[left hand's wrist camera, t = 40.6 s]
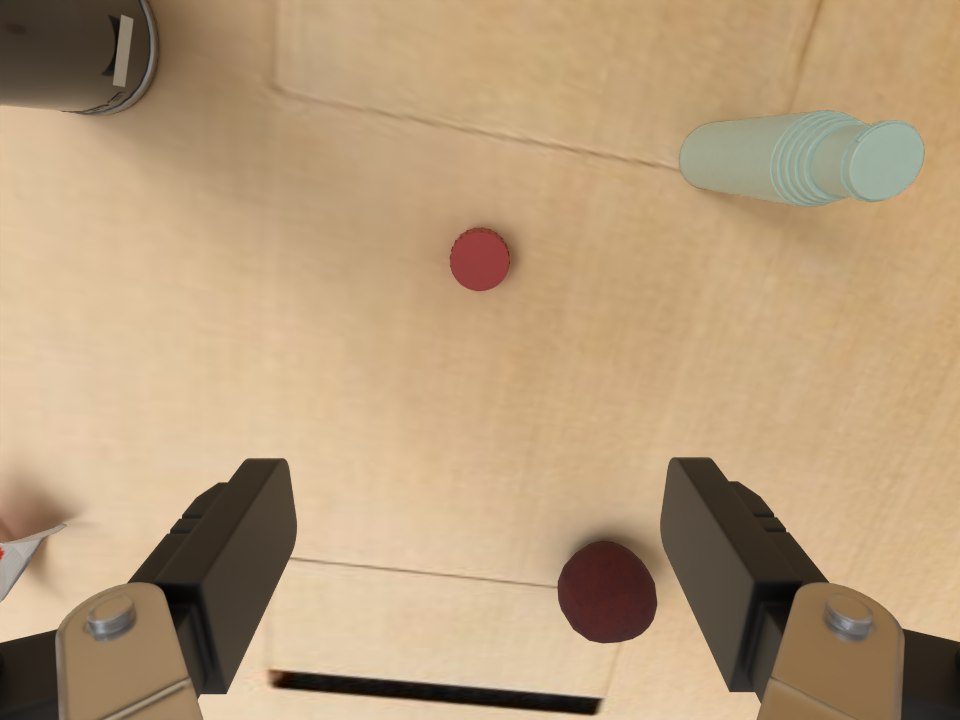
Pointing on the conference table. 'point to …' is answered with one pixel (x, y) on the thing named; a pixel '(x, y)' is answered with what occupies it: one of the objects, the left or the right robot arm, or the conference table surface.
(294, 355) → the conference table surface
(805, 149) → the bottle
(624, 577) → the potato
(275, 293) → the conference table surface
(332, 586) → the conference table surface
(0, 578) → the fish
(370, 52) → the conference table surface
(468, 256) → the cap
